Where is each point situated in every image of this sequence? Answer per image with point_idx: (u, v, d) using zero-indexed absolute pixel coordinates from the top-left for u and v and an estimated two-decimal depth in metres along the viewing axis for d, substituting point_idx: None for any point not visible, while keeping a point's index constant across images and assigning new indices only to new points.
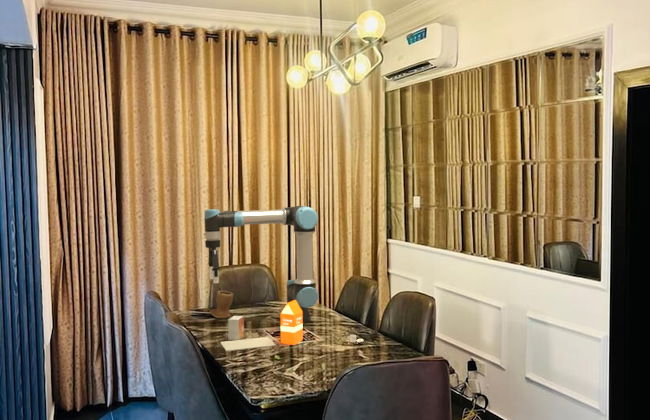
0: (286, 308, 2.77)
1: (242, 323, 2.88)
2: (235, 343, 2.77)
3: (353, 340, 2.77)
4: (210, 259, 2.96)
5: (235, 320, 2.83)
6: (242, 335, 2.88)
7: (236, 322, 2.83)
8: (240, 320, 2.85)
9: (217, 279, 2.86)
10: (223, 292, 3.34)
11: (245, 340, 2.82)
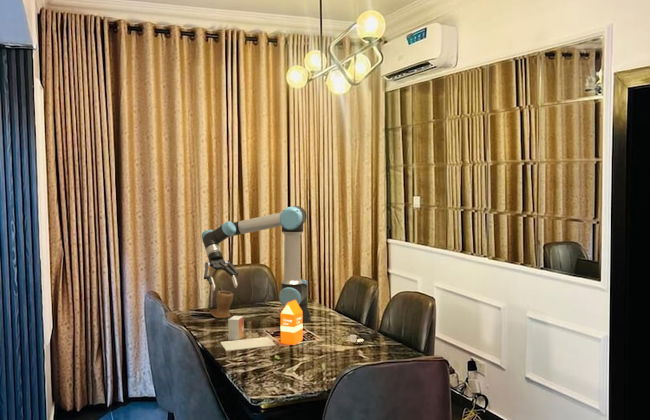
0: (286, 308, 2.77)
1: (242, 323, 2.88)
2: (235, 343, 2.77)
3: (353, 340, 2.77)
4: None
5: (235, 320, 2.83)
6: (242, 335, 2.88)
7: (236, 322, 2.83)
8: (240, 320, 2.85)
9: (213, 285, 2.95)
10: (223, 292, 3.34)
11: (245, 340, 2.82)
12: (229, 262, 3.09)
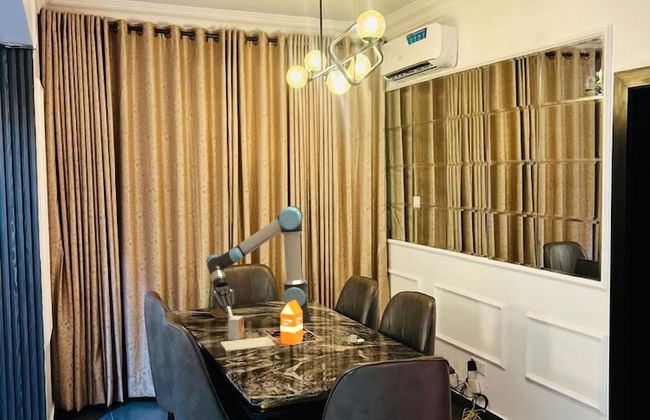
0: (286, 308, 2.77)
1: (242, 323, 2.88)
2: (235, 343, 2.77)
3: (353, 340, 2.77)
4: (225, 299, 2.99)
5: (235, 320, 2.83)
6: (242, 335, 2.88)
7: (236, 322, 2.83)
8: (240, 320, 2.85)
9: (229, 314, 2.92)
10: None
11: (245, 340, 2.82)
12: (233, 291, 3.02)
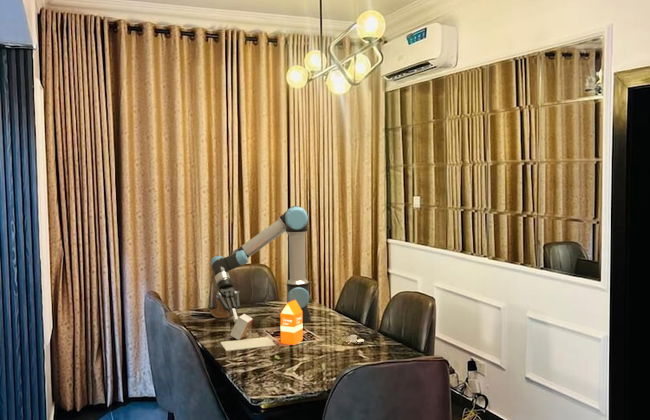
0: (286, 308, 2.77)
1: (248, 325, 2.87)
2: (235, 343, 2.77)
3: (353, 340, 2.76)
4: (230, 301, 2.94)
5: (244, 321, 2.82)
6: (243, 336, 2.88)
7: (244, 323, 2.82)
8: (249, 322, 2.84)
9: (234, 317, 2.87)
10: None
11: (245, 340, 2.82)
12: (238, 293, 2.97)
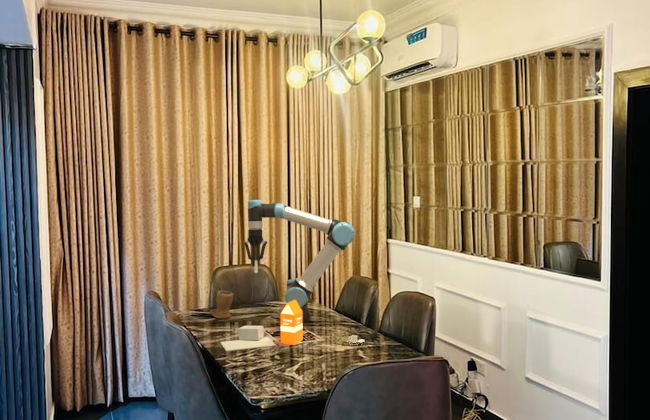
0: (286, 308, 2.77)
1: None
2: (235, 343, 2.77)
3: (354, 341, 2.76)
4: (256, 249, 3.09)
5: (257, 336, 2.81)
6: None
7: (255, 337, 2.81)
8: None
9: (254, 269, 3.08)
10: (223, 292, 3.34)
11: (245, 340, 2.82)
12: (265, 244, 3.09)
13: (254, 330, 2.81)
